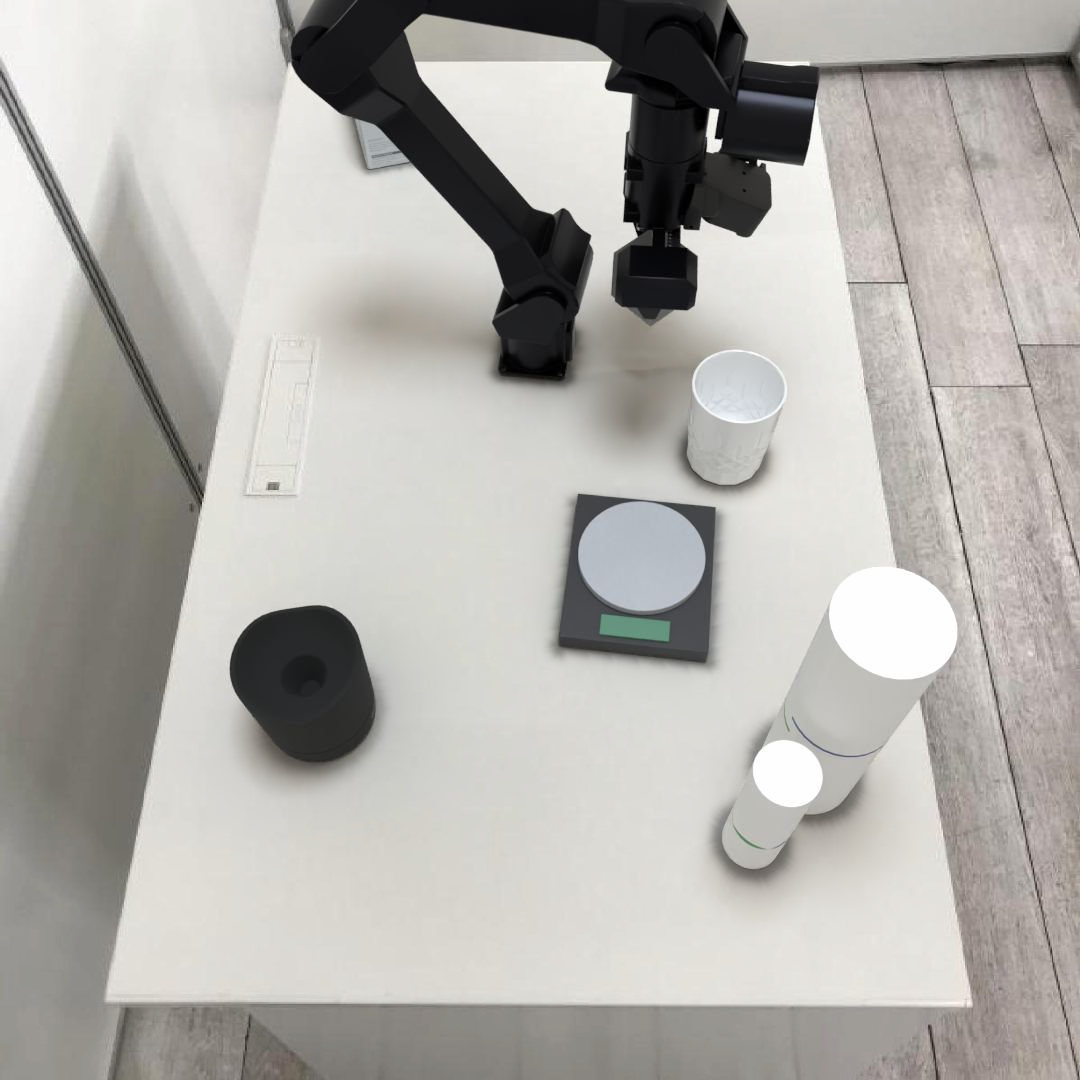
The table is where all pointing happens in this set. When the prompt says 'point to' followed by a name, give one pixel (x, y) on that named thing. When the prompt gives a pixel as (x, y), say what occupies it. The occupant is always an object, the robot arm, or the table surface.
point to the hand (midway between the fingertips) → (650, 288)
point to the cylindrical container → (864, 673)
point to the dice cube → (640, 240)
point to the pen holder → (305, 681)
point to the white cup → (733, 414)
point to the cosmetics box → (377, 147)
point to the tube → (771, 803)
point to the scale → (639, 578)
